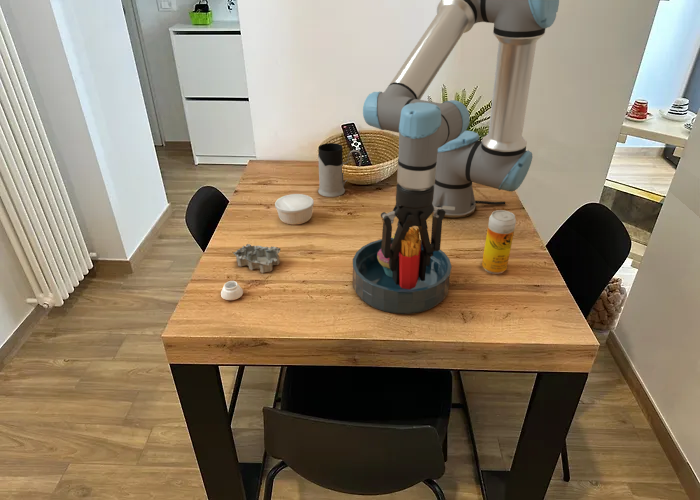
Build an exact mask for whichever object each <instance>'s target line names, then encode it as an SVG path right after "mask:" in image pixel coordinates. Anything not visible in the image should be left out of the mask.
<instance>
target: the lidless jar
mask: <svg viewBox="0 0 700 500" xmlns="http://www.w3.org/2000/svg"><path fill="white" fill-rule="evenodd" d="M243 294H244V289H243V288H242V287H241V286H240V284H238V281H235V280H228V281H226V282H225V283H224V284H223V287H222V289H221V291H220V297H221V298H222V299H223V300H226V301H236V300H237V299H239V298H241V297H242V296H243Z"/></svg>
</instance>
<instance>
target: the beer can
mask: <svg viewBox="0 0 700 500" xmlns="http://www.w3.org/2000/svg"><path fill="white" fill-rule="evenodd" d="M516 224H517V219H516V215H515V214H514V213H513V212H512V211H509V210H503V209H497V210H494V211H492V212H491V214H490V216H489V217H488V224H487V230H486V237H485V242H484V248H483V255H482V261H481V267H482V268H483V270H484V271H485V272H487V273H489V274H493V275H501V274H502V273H504V272H505V271H506V270H507V269H508V264H509V260H510V255H511V249H512V245H513V238H514V234H515V229H516Z"/></svg>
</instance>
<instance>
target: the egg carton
mask: <svg viewBox="0 0 700 500" xmlns="http://www.w3.org/2000/svg"><path fill="white" fill-rule="evenodd" d="M281 251H282V250H281V248H280V247H278V246H270V247H269V246H262V245H252V244H250V243H247V244H246V245H243V246H242V247H240V248H239V249H236V251H234V252H233V251H232V253H233V256H235V257H236V263H237V266H238V267H245V266H248V269H249V270H251V271H254V270H255V269H258V270H259V271H260V273H261V274H264V273H269V272H272V271H273V267H274V266H278V265H279V264H280V263H281V262H280V255H279V254H280V252H281Z"/></svg>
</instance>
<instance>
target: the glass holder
mask: <svg viewBox="0 0 700 500" xmlns="http://www.w3.org/2000/svg"><path fill="white" fill-rule="evenodd" d="M354 152H356V153H358V154H359V155H360V160H359V164H358V167H360V168H361V165H362V161H363V160H362V159H363V156H362V153H361V152H360V151H359V150H357V149H353V150H351V151H349V153H348V154H347V161H345V162H344V161H343V158H344V157H343V145H342V144H339V143H334V142H329V143H328V142H327V143H322V144H320V145H318V154H317V157H318V158H317V159H318V182H319V183H318V186H319V187H318V190H317V192H318V194H319V195H320V196H323V197H327V198H334V197H340V196H342V195H344V194H345V192H346V190H345V185H346V183H347V182H348V181H349V180H346V179H345V180H344V172H343V173H342V166H343V167H344V165H347V164H348V163H349V161H350V155H351V154H352V153H354Z"/></svg>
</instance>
